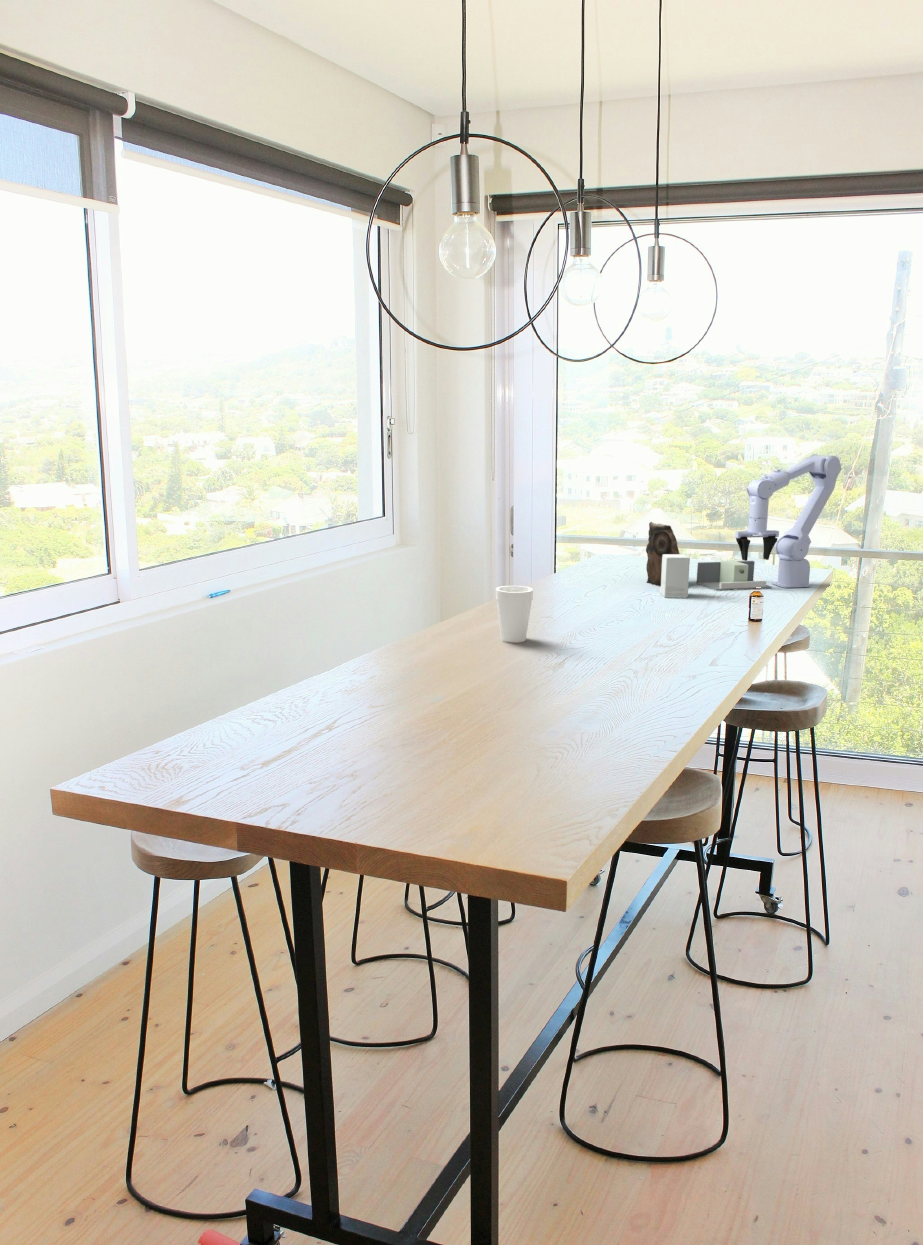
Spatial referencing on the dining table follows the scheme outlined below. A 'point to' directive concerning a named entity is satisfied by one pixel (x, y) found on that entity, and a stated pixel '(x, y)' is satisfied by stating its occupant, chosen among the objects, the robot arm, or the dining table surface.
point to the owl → (659, 550)
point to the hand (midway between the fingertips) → (755, 559)
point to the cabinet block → (733, 571)
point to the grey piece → (711, 578)
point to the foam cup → (513, 612)
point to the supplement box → (675, 575)
